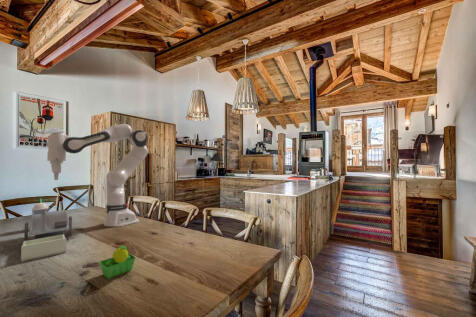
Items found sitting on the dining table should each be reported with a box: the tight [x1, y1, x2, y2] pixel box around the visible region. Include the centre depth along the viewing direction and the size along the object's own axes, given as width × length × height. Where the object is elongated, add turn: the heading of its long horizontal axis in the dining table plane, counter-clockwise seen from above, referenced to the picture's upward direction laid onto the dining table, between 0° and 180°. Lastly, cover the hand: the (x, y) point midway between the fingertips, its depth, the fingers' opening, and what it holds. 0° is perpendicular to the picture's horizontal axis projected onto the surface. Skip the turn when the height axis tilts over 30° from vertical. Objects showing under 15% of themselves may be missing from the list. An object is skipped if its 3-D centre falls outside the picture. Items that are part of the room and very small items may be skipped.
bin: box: [20, 233, 67, 263], centre depth 106 cm, size 16×16×7 cm
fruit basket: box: [98, 245, 136, 279], centre depth 87 cm, size 11×9×11 cm
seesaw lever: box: [28, 208, 69, 237], centre depth 124 cm, size 16×28×4 cm, turn 42°
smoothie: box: [31, 198, 50, 212], centre depth 142 cm, size 8×8×20 cm
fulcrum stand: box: [23, 215, 73, 242], centre depth 124 cm, size 20×4×11 cm, turn 132°
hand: (56, 179), depth 136 cm, fingers closed
